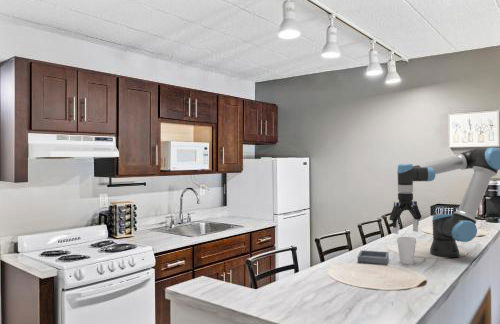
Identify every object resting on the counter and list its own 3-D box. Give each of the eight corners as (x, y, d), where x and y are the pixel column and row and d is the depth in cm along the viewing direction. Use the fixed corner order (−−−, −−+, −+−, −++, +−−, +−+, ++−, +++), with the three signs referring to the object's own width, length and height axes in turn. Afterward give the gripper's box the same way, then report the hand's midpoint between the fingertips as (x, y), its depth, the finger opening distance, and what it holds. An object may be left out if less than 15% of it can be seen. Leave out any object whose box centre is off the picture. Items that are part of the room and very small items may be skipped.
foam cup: (418, 265, 200) (417, 240, 200) (399, 264, 202) (398, 240, 202) (414, 260, 210) (413, 236, 210) (396, 260, 212) (395, 236, 212)
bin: (388, 258, 216) (388, 252, 216) (387, 265, 202) (387, 258, 202) (360, 256, 221) (360, 250, 221) (357, 263, 207) (357, 256, 207)
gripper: (417, 191, 214) (417, 229, 214) (381, 193, 205) (382, 233, 205) (428, 192, 207) (428, 231, 207) (392, 194, 198) (392, 235, 198)
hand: (405, 232), depth 206 cm, fingers open, 13 cm apart
